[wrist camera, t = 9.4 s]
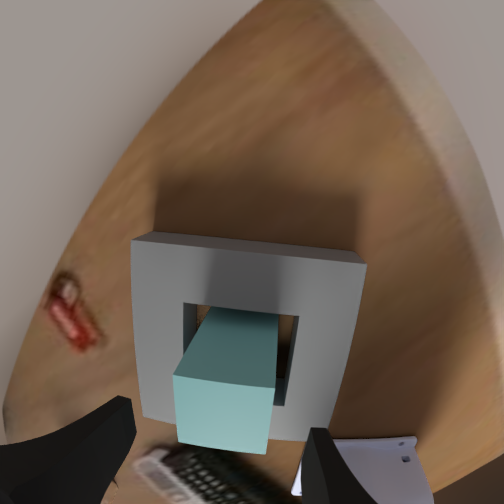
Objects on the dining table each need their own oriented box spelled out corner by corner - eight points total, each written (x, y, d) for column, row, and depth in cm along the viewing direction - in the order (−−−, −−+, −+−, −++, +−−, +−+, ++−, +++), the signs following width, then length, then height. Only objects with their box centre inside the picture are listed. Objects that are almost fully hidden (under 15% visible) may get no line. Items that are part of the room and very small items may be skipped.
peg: (278, 309, 19) (275, 388, 11) (272, 364, 20) (265, 454, 12) (213, 302, 19) (172, 374, 12) (212, 358, 20) (178, 441, 12)
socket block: (354, 251, 18) (367, 264, 15) (320, 413, 20) (323, 442, 18) (152, 231, 19) (130, 240, 16) (157, 392, 21) (143, 416, 18)
